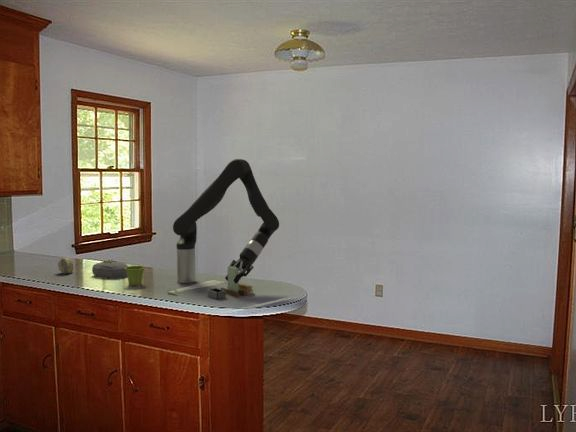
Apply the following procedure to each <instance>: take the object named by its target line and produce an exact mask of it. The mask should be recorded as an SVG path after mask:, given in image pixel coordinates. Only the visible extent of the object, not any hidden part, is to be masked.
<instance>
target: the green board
mask: <svg viewBox="0 0 576 432" xmlns="http://www.w3.org/2000/svg"><path fill="white" fill-rule="evenodd" d="M238 273H239V271H238V268H236V267H229V266H227V274H228V281H227V287H228V289H229V290H233V291H236V292H239V286H238V283H239V282H238V283H235V282H234V281H233V280H234V278H235V277H236V276H237V274H238Z"/></svg>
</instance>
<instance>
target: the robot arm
mask: <svg viewBox="0 0 576 432" xmlns="http://www.w3.org/2000/svg"><path fill="white" fill-rule="evenodd" d="M238 179H239V180H240V181H241V183H242V184H243V185H244V188H245V190H246V193H247V194H246V195H247V198H248V201H249V204H250V206H251V208H252V210H253V211H254V213H255V215H256V216H257V217H258V218H259V217H260V219H261V220H262V224H261V225H260V226H259V228H258V230H257V231H256V233H254V235H253V237H251V239H250V240H249V242H247V243H246V246H245V247H244V248H242V251H241V252H240V253H239V259H237V260H235V259H233V260H232V261H231V262H230V264H229V266H228V267H235V268H238V274H237V276H236V277H235V278H234V280H233V281H234V282H235V283H239V282H240V280H241V279H242V278H244V277H247V276H248V275H249V274H250V272H251V271H253V269H254V266H253V265H254V263H255V261H256V260H257V259H258V257H259V256H260V254H261V253H262V252H263V249H264V248H265V246H267V244H268V242H269V240H270V238H271V236H272V235H273V234H274V233H275V232H276V231H277V230H278V229H279V227H280V221H279V218H277V217H278V216H276V214H275V213H274V211H273V210H272V209H271V208H270V207H269V205H268V203H267V201H266V200H265V198H264V196H263V193H262V192H261V190H260V188H259V186H258V184H257V181H256V179H255V176H254V173H253V171H252V167H251V165H250V163H249V162H248V161H247V160H245V159H242V158H241V159H240V158H234V159H232V160H231V161H229V162H228V163H227V165H225V167H224V169H223V170H222V172H221V173H220V174H219V176H217V178H215V179H214V180H213V182H211V183H210V185H209V186H208V187H207V188H206V189H205V190H203V192H202V193H201V194H200V195H199V196H198V198H197V199H196V200H195V201H194V202H193V203H192V204H191V206H189V208H188V209H187V210H186V211H185V212H183V213H182V214H181V215H180V216H179V217H177V219H175V220H174V222H173V225H172V230H173V232H174V234H175V235H178V236H180V237H179V240H178V241H177V242H176V281H177V283H179V284H190V283H195V282H196V280H197V279H196V244H197V233H198V232H197V230H198V229H197V226H198V225H197V221H198V220H200V219H201V218H202V217H204V216H205V215H207V214H208V213H210V212H211V211H212V210H214V209H215V208H216V207H217V206H218V205H219V204H220V202H221V201H222V200H223V198H224V196H225V194H226V193H227V191H228V189H229V188H230V186H231V185H232V184H233V183H234V182H236V181H237V180H238ZM224 279H225V281H227V282H228V273H227V274H226V276H225V278H224Z"/></svg>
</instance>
